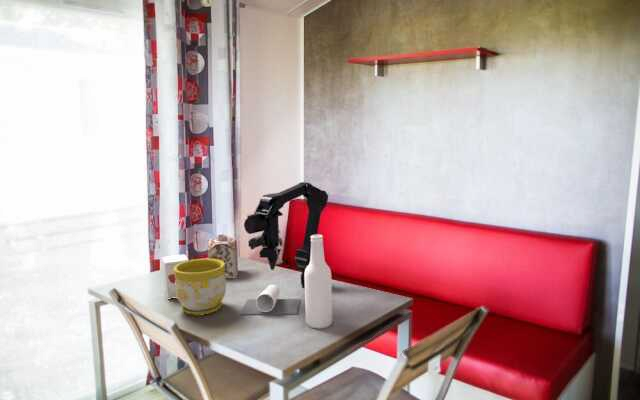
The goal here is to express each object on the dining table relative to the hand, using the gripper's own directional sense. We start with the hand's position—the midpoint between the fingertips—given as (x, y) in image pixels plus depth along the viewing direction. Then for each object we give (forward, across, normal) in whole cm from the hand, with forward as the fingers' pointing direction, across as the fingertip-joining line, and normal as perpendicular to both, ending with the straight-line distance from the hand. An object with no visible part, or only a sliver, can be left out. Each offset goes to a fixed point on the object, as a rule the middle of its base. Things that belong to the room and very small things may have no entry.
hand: (272, 269), depth 185 cm
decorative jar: (+12, -30, -26) cm, 41 cm away
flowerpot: (+12, +9, -25) cm, 29 cm away
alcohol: (+12, +23, +18) cm, 32 cm away
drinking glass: (+9, -1, 0) cm, 9 cm away
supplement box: (+12, -6, -39) cm, 41 cm away
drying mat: (+12, +8, 0) cm, 14 cm away
